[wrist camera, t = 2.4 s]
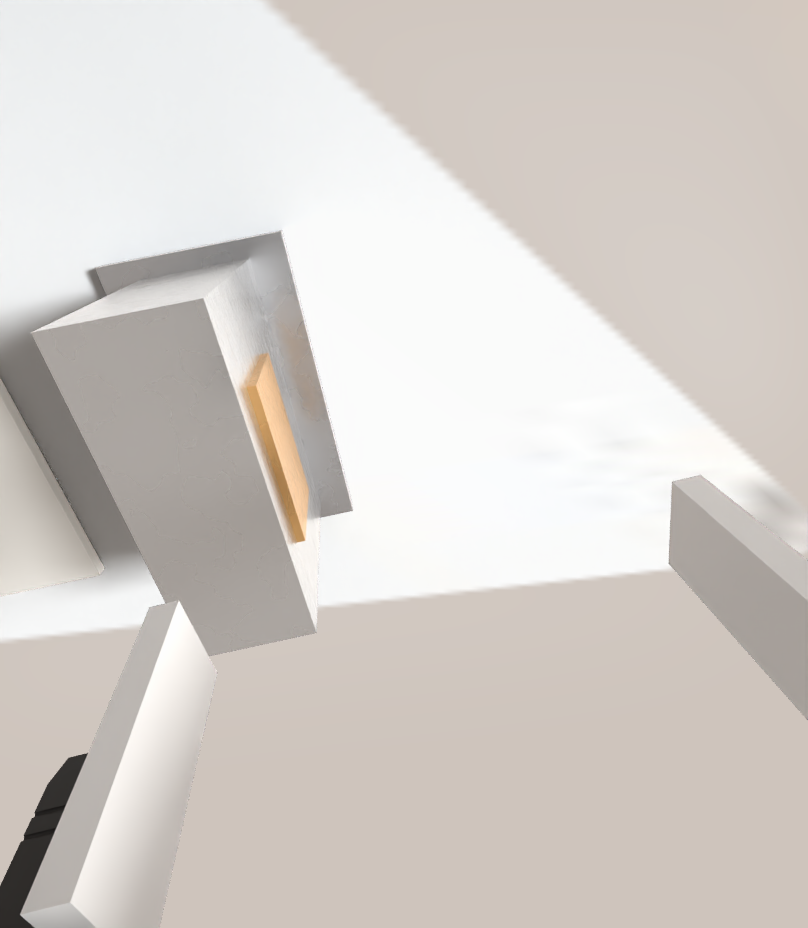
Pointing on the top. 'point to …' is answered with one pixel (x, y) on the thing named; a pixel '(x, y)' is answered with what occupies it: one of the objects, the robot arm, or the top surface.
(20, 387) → the top surface
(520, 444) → the top surface
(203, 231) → the top surface
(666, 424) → the top surface
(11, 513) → the mat
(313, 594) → the block
